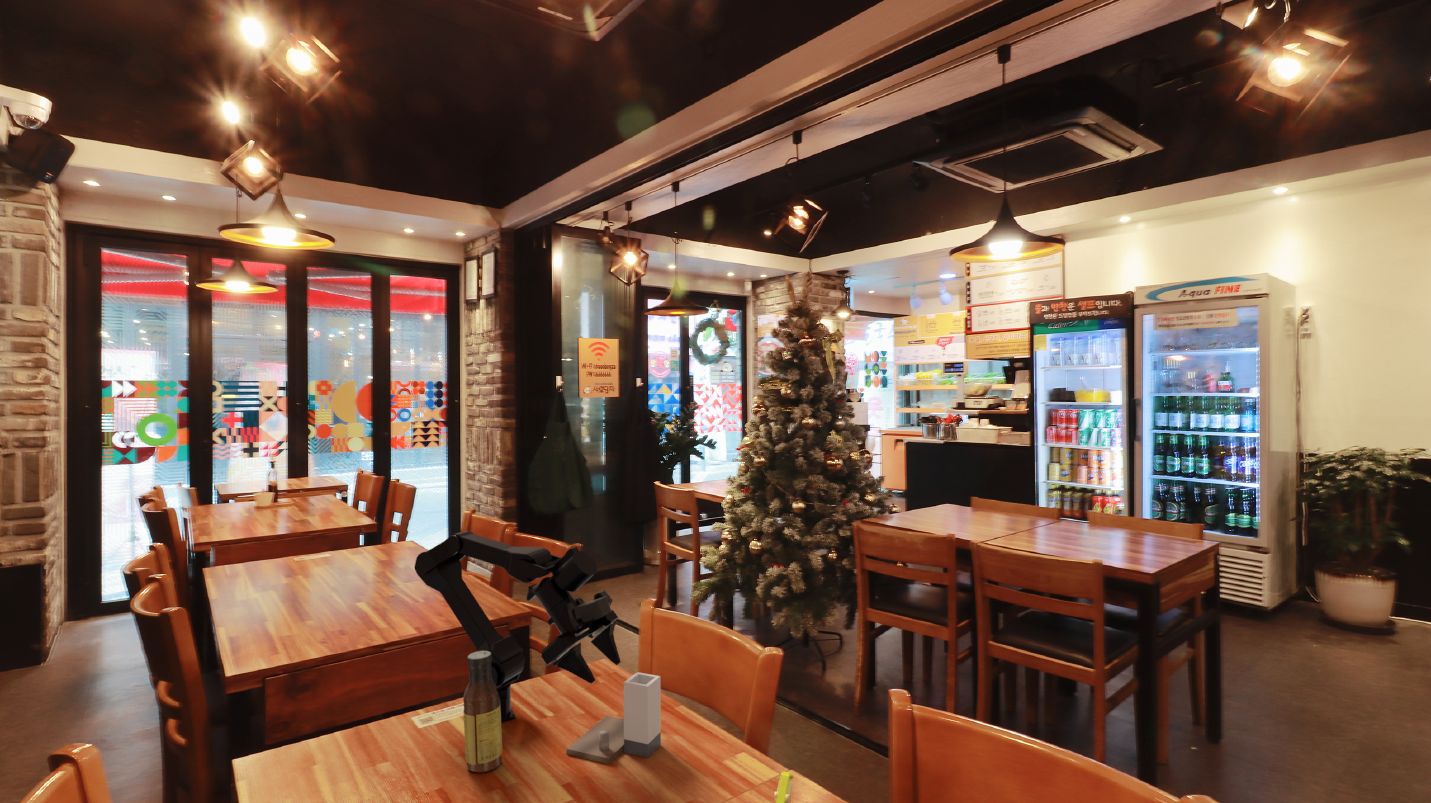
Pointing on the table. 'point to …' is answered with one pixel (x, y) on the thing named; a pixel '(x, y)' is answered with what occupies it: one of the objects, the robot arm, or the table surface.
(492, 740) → the sauce bottle
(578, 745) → the pin board
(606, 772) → the table surface
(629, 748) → the grey sleeve
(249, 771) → the table surface
